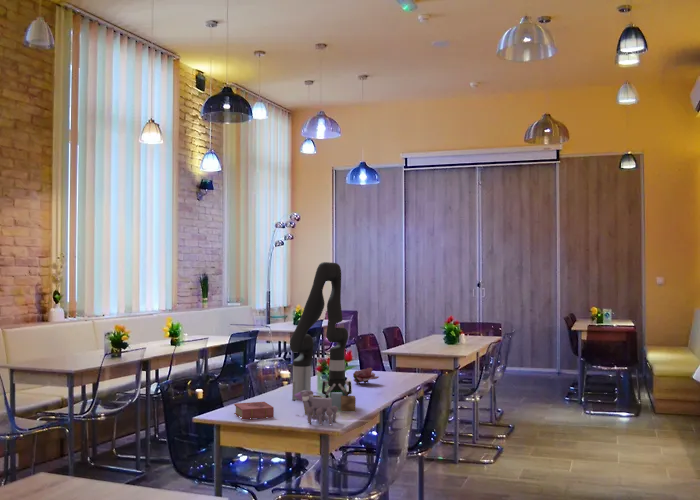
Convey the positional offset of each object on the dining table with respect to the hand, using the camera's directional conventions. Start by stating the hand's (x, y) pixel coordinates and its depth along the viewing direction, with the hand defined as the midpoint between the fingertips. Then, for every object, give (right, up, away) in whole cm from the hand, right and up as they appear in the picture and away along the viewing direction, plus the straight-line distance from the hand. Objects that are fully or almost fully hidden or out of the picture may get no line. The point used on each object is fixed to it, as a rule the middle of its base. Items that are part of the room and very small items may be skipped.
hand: (336, 402), depth 344 cm
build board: (+3, -2, -5) cm, 7 cm away
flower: (+15, -5, +70) cm, 72 cm away
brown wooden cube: (+6, -1, -10) cm, 11 cm away
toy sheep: (-9, -2, -32) cm, 33 cm away
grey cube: (0, -1, 0) cm, 1 cm away
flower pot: (-11, -2, -20) cm, 23 cm away
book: (-37, -2, -20) cm, 42 cm away
